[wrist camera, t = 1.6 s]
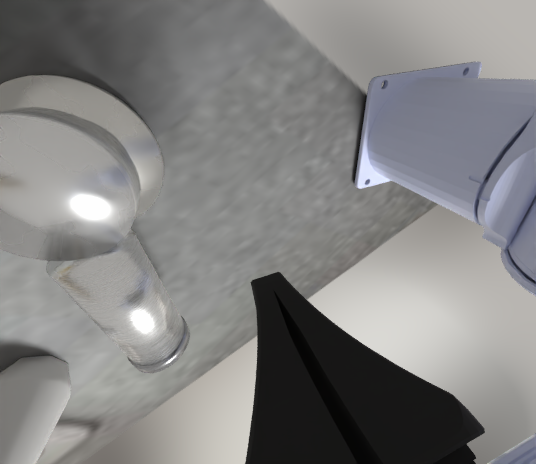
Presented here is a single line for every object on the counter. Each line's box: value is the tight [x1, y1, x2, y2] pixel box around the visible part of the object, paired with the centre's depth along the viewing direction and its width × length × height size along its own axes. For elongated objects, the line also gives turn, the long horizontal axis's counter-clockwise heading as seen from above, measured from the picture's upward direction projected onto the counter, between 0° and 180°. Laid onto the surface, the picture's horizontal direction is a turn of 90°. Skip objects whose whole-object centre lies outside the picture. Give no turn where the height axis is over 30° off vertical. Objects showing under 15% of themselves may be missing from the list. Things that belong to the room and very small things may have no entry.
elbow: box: [0, 107, 190, 373], centre depth 12 cm, size 15×6×4 cm, turn 6°
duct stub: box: [0, 75, 164, 219], centre depth 11 cm, size 9×8×4 cm
